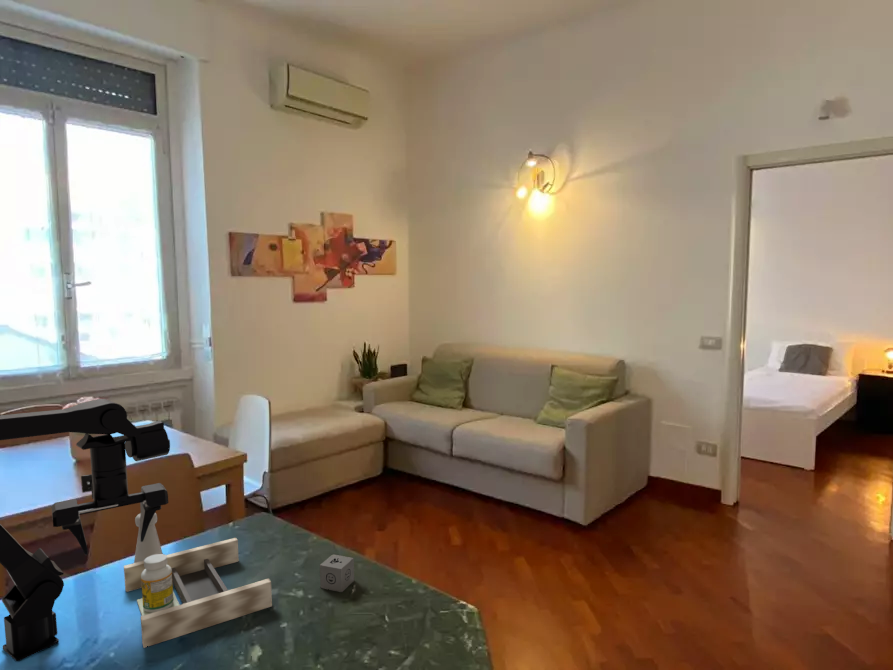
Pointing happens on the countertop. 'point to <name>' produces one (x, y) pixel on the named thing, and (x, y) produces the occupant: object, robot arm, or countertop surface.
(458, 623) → the countertop surface
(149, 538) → the salt shaker
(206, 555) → the walled lane
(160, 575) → the supplement bottle
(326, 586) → the dice cube
